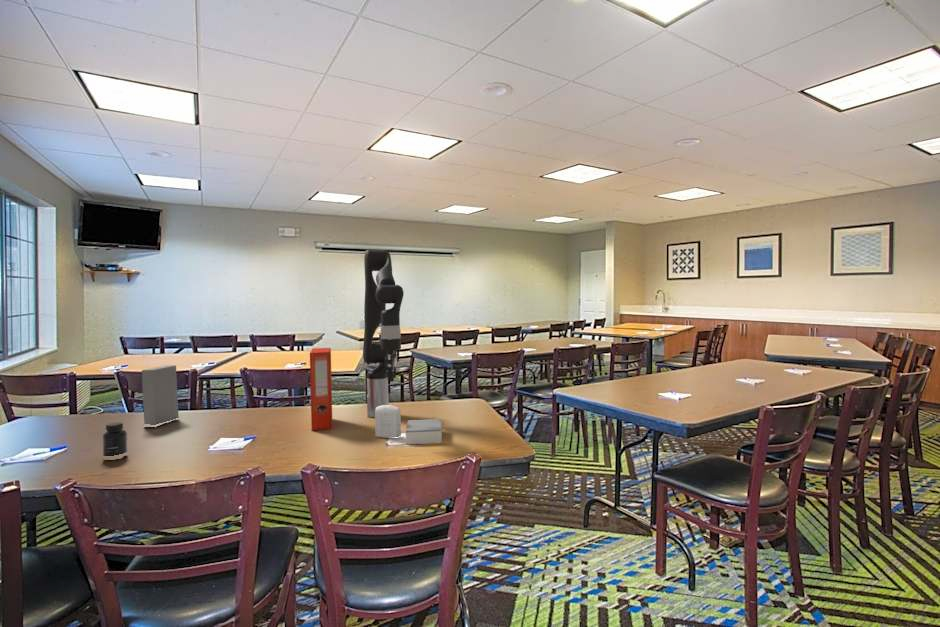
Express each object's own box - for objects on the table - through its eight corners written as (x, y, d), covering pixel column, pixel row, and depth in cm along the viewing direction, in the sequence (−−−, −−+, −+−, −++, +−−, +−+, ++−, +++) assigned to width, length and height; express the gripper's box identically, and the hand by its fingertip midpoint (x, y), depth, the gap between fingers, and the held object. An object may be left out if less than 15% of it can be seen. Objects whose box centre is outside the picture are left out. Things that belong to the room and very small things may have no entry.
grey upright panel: (167, 419, 221) (164, 365, 220) (179, 419, 220) (176, 365, 219) (142, 428, 207) (139, 370, 206) (155, 428, 206) (152, 370, 205)
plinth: (406, 444, 176) (405, 430, 176) (408, 432, 191) (408, 420, 191) (441, 442, 177) (441, 429, 177) (441, 431, 192) (441, 418, 192)
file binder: (333, 418, 215) (330, 347, 214) (332, 429, 199) (329, 351, 198) (314, 420, 213) (311, 348, 212) (311, 431, 197) (308, 352, 195)
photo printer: (402, 436, 187) (402, 404, 186) (398, 439, 183) (397, 407, 182) (379, 434, 190) (378, 403, 189) (373, 437, 186) (372, 405, 185)
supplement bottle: (108, 462, 163) (106, 427, 163) (99, 459, 167) (97, 425, 167) (131, 456, 169) (129, 422, 169) (122, 453, 173) (120, 420, 172)
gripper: (383, 336, 191) (384, 377, 192) (378, 339, 177) (379, 383, 177) (402, 335, 192) (403, 376, 192) (398, 338, 177) (400, 382, 178)
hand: (392, 379), depth 185 cm, fingers open, 8 cm apart
